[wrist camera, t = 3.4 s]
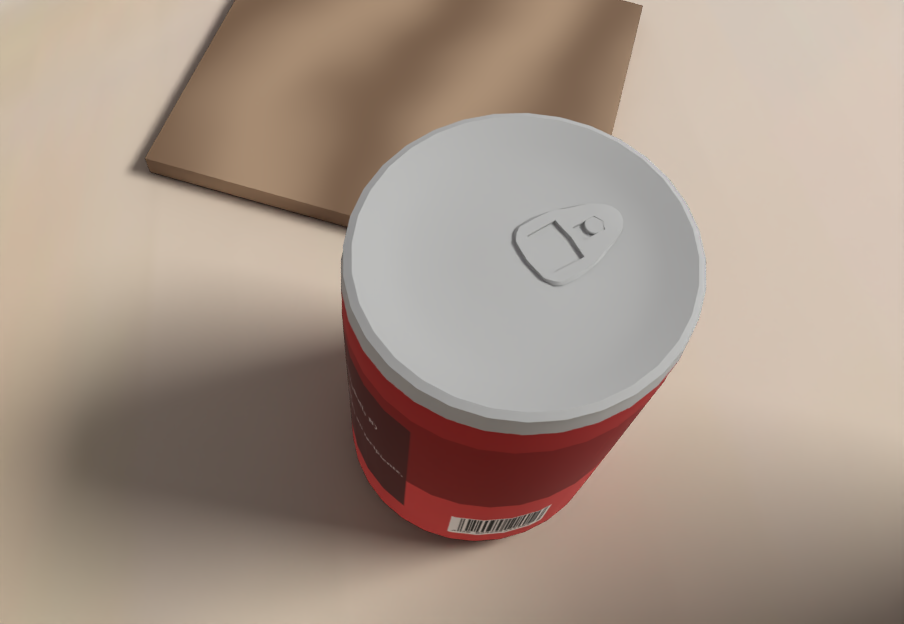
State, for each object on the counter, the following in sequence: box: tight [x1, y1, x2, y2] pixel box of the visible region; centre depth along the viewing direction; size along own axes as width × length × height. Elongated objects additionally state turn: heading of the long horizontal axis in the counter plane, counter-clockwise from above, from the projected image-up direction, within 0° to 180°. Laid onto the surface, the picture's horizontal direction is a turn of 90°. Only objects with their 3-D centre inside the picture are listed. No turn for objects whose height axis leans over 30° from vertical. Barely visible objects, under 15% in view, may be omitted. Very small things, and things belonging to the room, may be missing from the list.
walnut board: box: [145, 0, 643, 227], centre depth 34 cm, size 16×14×1 cm
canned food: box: [341, 113, 706, 541], centre depth 23 cm, size 8×8×11 cm
